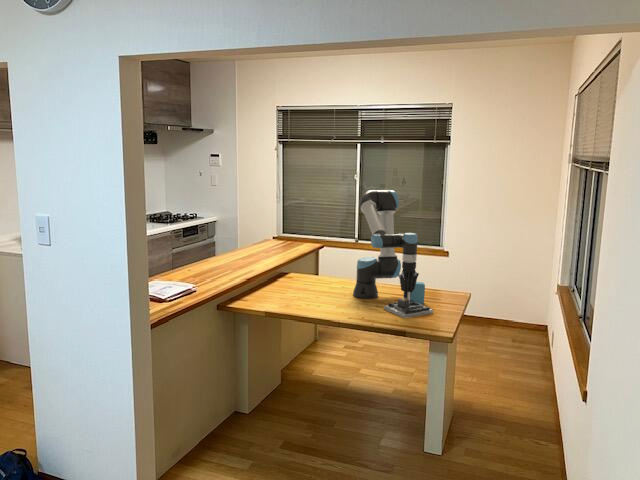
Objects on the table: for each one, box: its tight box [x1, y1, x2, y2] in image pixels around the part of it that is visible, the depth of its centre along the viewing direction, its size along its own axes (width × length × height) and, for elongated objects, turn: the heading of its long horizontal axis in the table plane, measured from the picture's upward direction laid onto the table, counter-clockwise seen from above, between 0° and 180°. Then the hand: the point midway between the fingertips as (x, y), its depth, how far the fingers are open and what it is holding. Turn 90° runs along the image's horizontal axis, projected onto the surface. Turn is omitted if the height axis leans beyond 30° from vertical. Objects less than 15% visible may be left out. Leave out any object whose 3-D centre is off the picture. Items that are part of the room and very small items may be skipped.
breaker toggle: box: [397, 297, 409, 308], centre depth 294 cm, size 5×4×5 cm
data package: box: [402, 281, 426, 305], centre depth 313 cm, size 12×4×12 cm, turn 79°
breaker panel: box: [383, 300, 434, 319], centre depth 296 cm, size 18×20×4 cm
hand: (407, 302), depth 295 cm, fingers closed
